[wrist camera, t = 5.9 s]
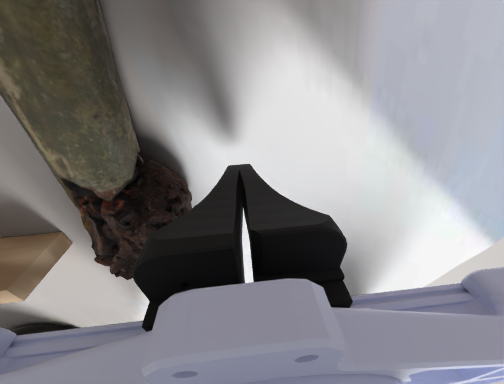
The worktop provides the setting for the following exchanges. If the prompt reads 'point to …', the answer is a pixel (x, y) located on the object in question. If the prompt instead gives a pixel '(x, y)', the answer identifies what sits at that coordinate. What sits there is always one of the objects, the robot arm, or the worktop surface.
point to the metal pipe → (85, 125)
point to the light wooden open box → (27, 262)
